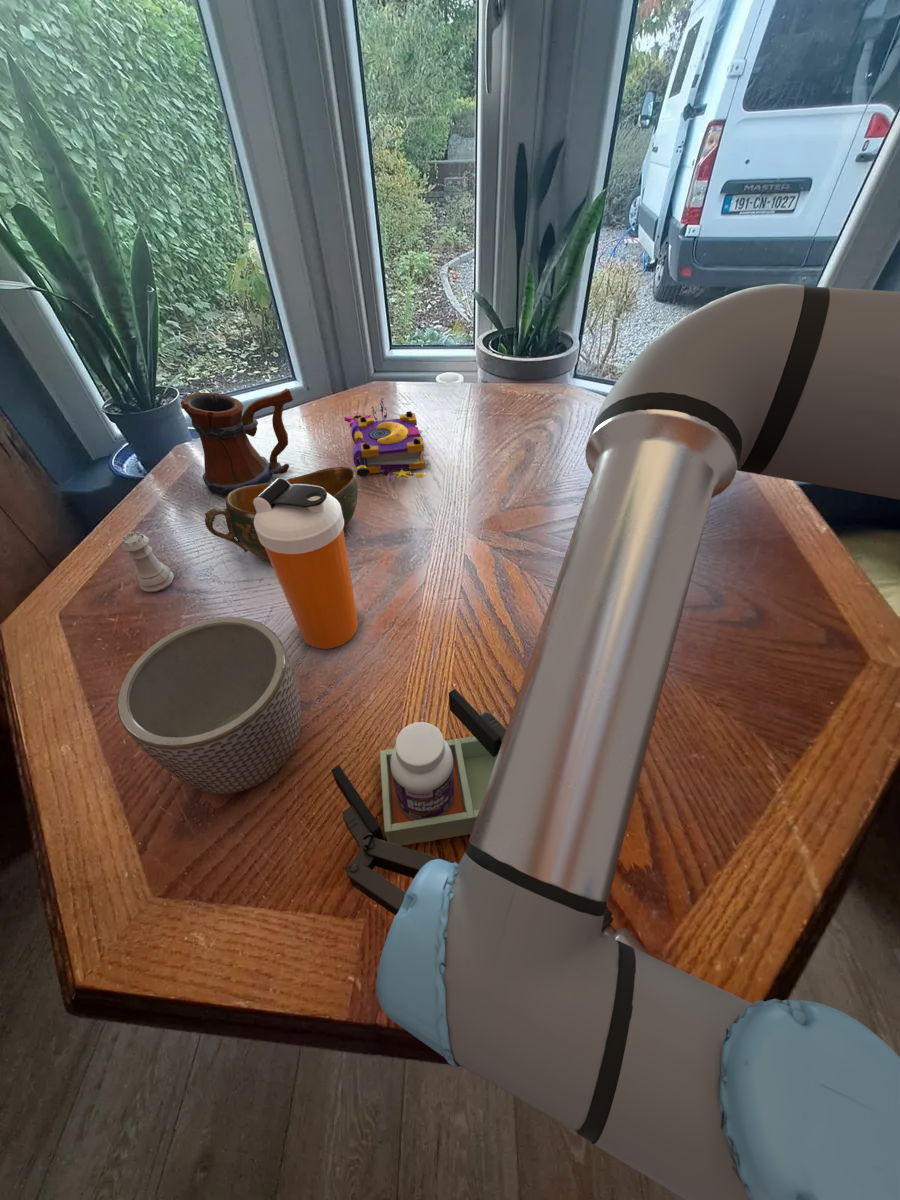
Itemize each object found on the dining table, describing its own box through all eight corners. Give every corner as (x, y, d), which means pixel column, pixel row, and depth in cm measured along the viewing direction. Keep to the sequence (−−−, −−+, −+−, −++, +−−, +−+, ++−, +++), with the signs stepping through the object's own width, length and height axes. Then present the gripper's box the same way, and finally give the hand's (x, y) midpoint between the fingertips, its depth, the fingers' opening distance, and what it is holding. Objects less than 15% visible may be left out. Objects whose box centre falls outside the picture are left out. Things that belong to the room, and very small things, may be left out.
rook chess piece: (182, 577, 73) (158, 531, 68) (157, 597, 70) (130, 551, 65) (159, 569, 75) (133, 523, 69) (134, 588, 72) (105, 542, 66)
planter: (325, 794, 50) (291, 719, 41) (172, 838, 47) (100, 769, 38) (310, 682, 59) (281, 601, 50) (183, 713, 57) (127, 635, 48)
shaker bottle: (351, 660, 62) (316, 522, 48) (282, 650, 63) (227, 513, 49) (374, 607, 68) (349, 471, 54) (310, 599, 69) (269, 465, 55)
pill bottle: (412, 836, 46) (401, 785, 39) (389, 785, 50) (375, 731, 43) (465, 807, 48) (464, 754, 41) (439, 760, 51) (434, 704, 44)
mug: (307, 453, 98) (287, 372, 87) (314, 484, 90) (293, 399, 79) (207, 470, 94) (174, 387, 84) (205, 504, 86) (168, 418, 76)
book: (350, 494, 87) (337, 425, 79) (346, 426, 105) (335, 364, 96) (436, 483, 89) (432, 414, 80) (417, 419, 106) (413, 357, 98)
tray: (529, 745, 53) (531, 727, 50) (550, 820, 47) (555, 804, 45) (383, 768, 52) (379, 750, 49) (389, 847, 46) (384, 832, 44)
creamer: (236, 523, 82) (213, 466, 75) (363, 508, 84) (352, 451, 77) (224, 577, 73) (197, 518, 66) (367, 559, 75) (355, 499, 68)
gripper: (437, 1120, 32) (285, 835, 44) (675, 864, 42) (496, 690, 54) (430, 1119, 27) (260, 796, 39) (704, 826, 37) (499, 643, 49)
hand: (397, 734), depth 47 cm, fingers open, 12 cm apart
